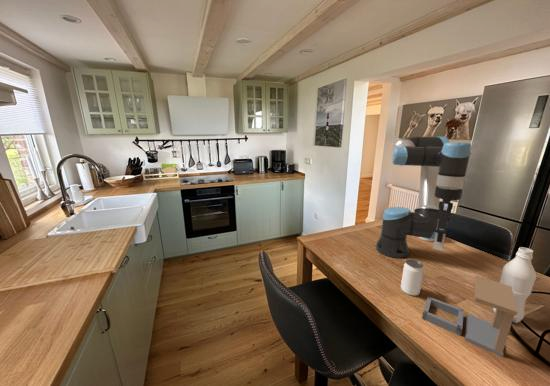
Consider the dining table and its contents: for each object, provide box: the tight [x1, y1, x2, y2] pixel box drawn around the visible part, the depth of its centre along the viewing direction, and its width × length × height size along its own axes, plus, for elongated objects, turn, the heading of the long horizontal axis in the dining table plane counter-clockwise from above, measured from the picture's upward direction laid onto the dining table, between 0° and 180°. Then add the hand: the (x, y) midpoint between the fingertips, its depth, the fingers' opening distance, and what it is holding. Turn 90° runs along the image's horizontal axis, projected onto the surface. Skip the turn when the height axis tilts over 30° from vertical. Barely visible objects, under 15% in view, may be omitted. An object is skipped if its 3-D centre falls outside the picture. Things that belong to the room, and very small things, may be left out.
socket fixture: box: [421, 275, 517, 358], centre depth 69 cm, size 19×13×15 cm
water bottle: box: [492, 246, 537, 324], centre depth 71 cm, size 7×7×25 cm
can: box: [400, 259, 424, 297], centre depth 85 cm, size 6×6×12 cm
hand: (438, 242), depth 83 cm, fingers open, 13 cm apart
